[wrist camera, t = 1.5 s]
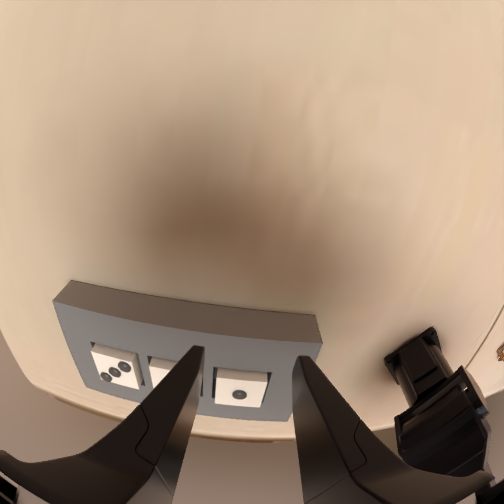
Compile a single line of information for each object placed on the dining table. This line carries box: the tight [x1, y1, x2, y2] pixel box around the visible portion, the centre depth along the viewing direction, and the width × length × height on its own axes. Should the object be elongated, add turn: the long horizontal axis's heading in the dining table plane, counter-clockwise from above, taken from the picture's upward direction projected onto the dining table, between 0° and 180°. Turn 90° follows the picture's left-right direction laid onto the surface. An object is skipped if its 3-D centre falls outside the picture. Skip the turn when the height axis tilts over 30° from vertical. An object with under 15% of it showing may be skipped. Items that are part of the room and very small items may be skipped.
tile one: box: [215, 367, 267, 408], centre depth 21 cm, size 4×4×2 cm
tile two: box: [149, 357, 178, 388], centre depth 21 cm, size 4×4×2 cm
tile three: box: [91, 343, 143, 389], centre depth 21 cm, size 4×4×2 cm
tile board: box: [53, 280, 323, 422], centre depth 23 cm, size 22×12×3 cm, turn 82°
